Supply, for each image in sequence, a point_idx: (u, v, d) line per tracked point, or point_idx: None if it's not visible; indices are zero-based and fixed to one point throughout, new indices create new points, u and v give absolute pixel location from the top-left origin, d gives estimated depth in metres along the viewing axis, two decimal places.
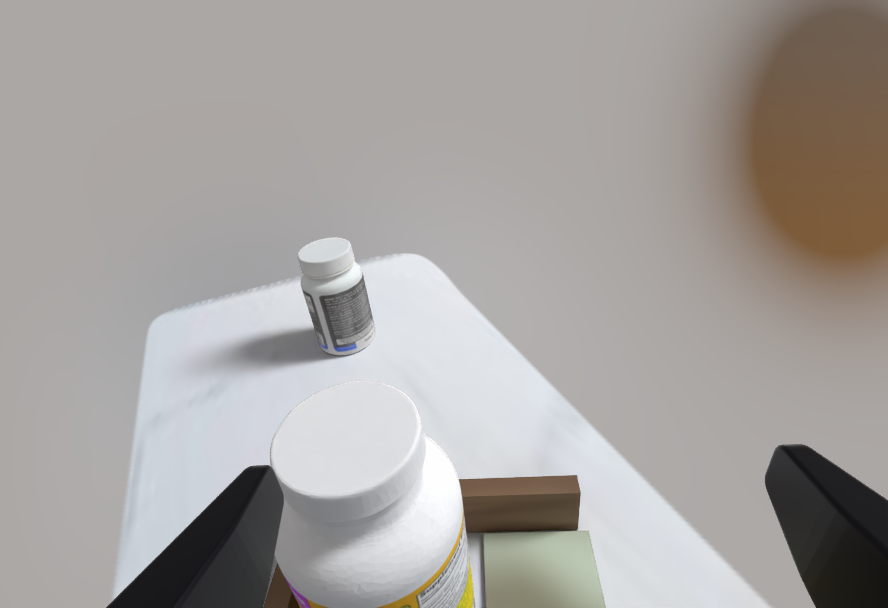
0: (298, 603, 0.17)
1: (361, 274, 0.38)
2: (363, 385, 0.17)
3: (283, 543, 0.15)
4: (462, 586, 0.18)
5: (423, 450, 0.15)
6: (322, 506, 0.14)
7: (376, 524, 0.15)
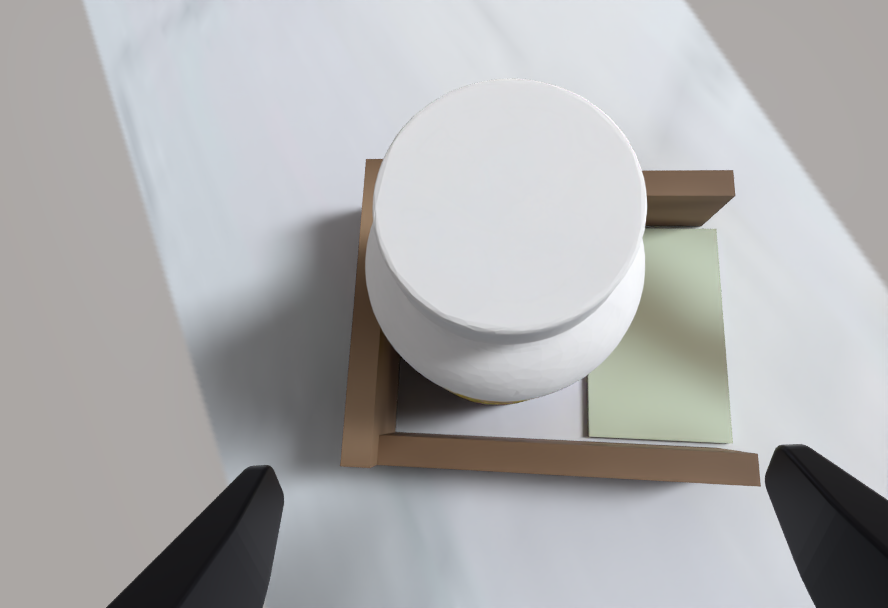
0: None
1: None
2: (521, 91, 0.09)
3: (400, 332, 0.11)
4: None
5: None
6: (486, 336, 0.08)
7: None
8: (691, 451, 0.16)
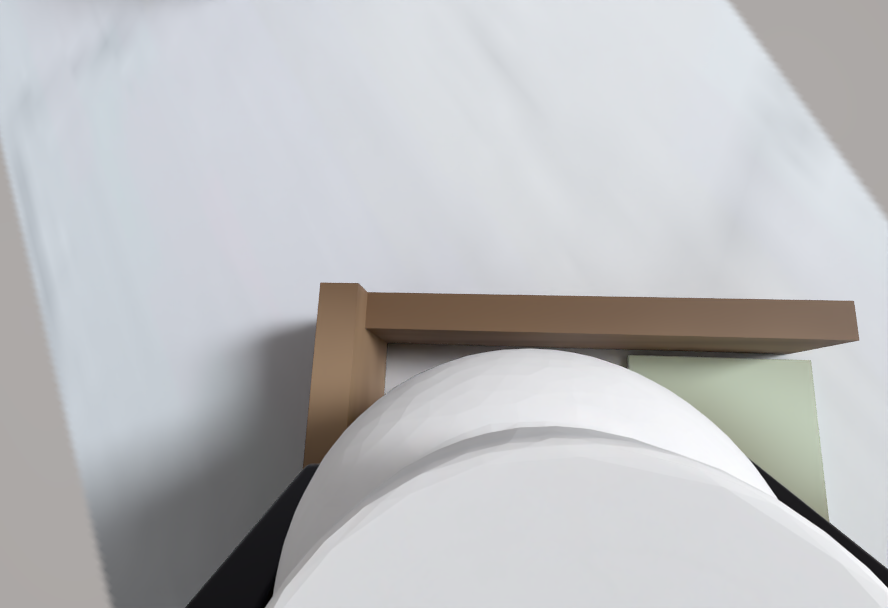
0: None
1: None
2: (625, 491, 0.03)
3: None
4: None
5: None
6: None
7: None
8: None
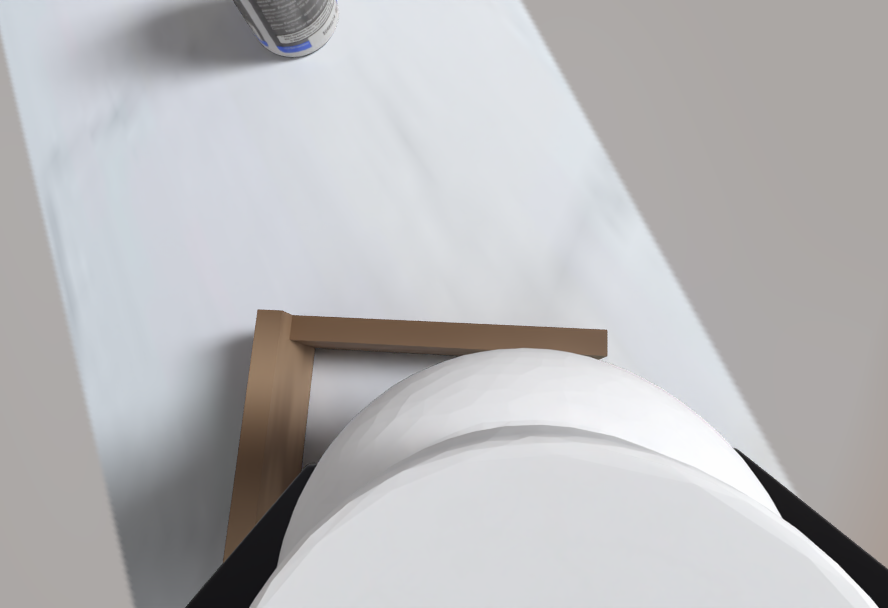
0: None
1: None
2: (598, 487, 0.03)
3: None
4: None
5: None
6: None
7: None
8: None
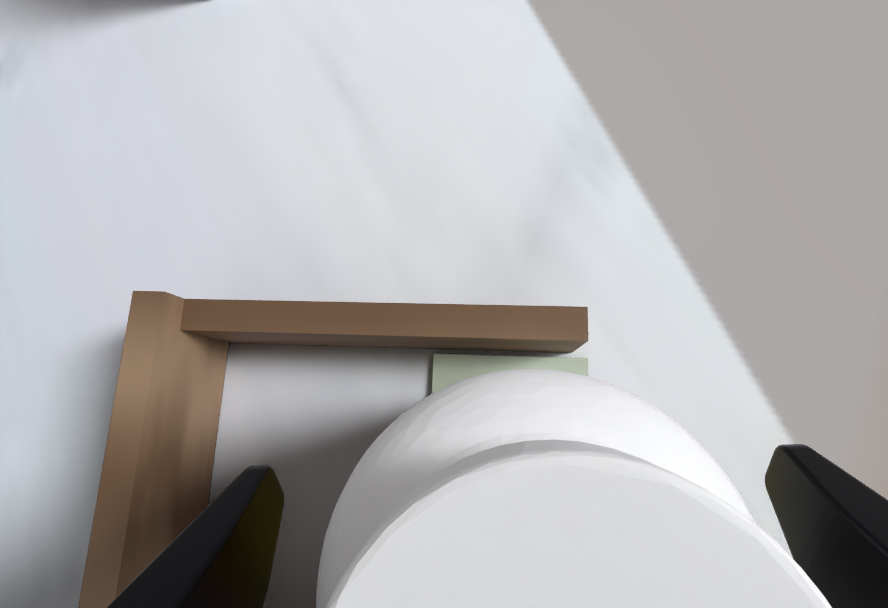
0: None
1: None
2: (604, 491, 0.04)
3: None
4: None
5: None
6: None
7: None
8: None
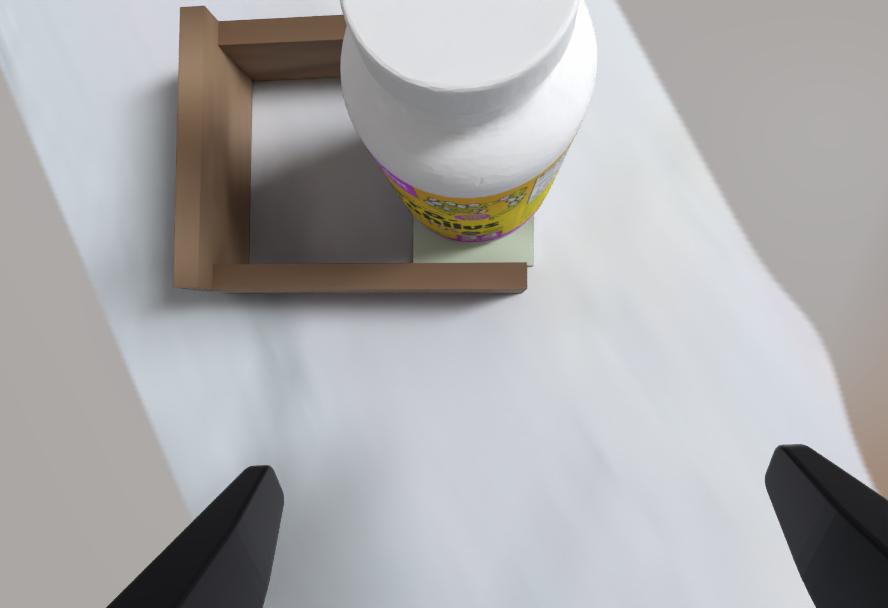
0: (391, 180, 0.15)
1: None
2: None
3: (375, 131, 0.12)
4: None
5: None
6: (446, 100, 0.10)
7: (504, 110, 0.11)
8: (473, 263, 0.19)
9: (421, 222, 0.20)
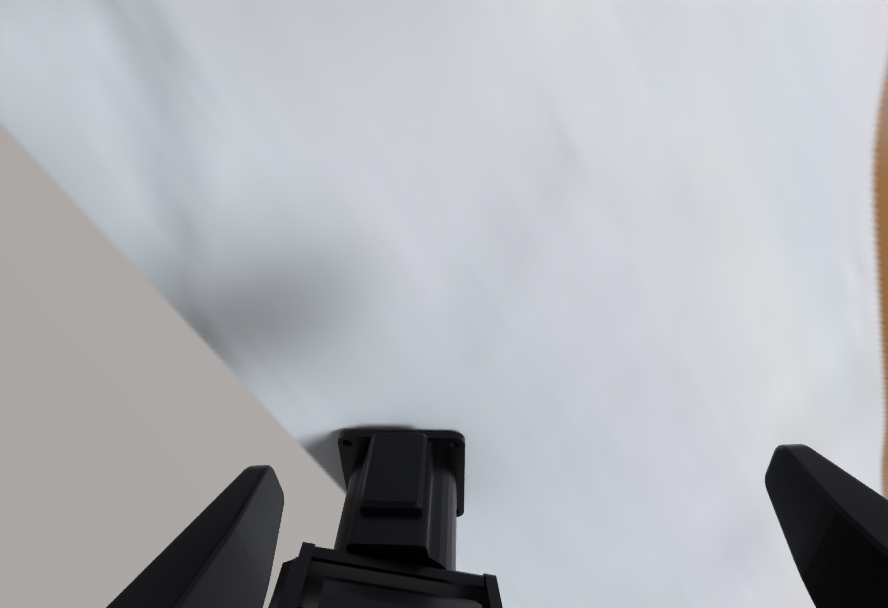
0: None
1: None
2: None
3: None
4: None
5: None
6: None
7: None
8: None
9: None
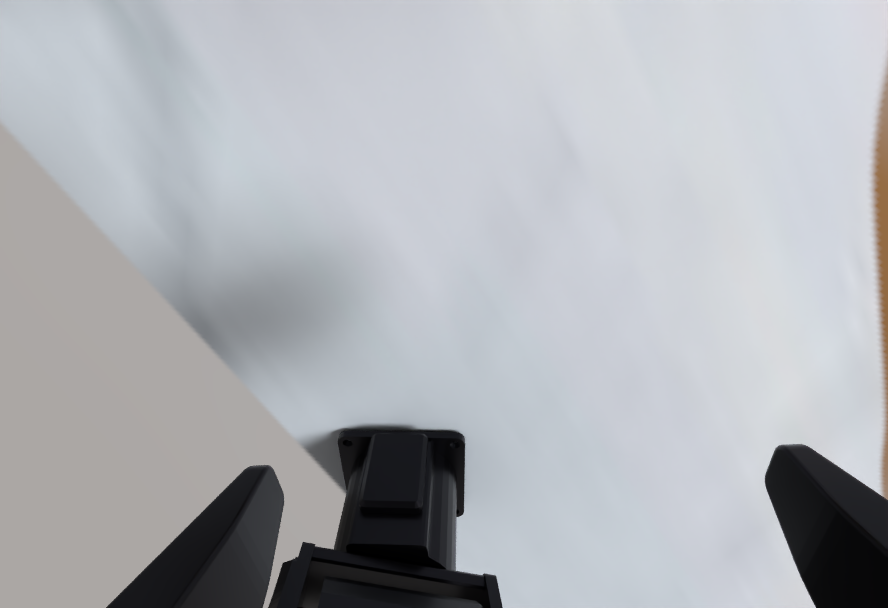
0: None
1: None
2: None
3: None
4: None
5: None
6: None
7: None
8: None
9: None
